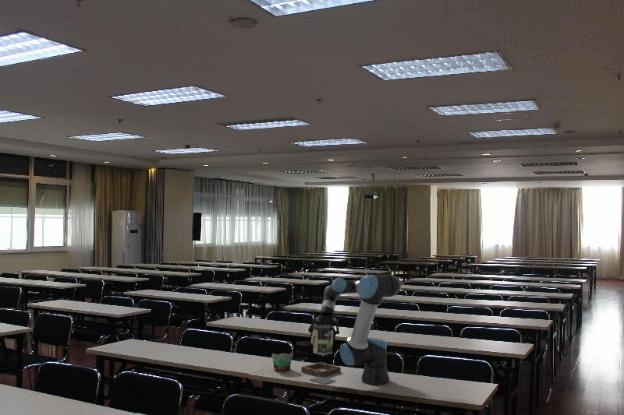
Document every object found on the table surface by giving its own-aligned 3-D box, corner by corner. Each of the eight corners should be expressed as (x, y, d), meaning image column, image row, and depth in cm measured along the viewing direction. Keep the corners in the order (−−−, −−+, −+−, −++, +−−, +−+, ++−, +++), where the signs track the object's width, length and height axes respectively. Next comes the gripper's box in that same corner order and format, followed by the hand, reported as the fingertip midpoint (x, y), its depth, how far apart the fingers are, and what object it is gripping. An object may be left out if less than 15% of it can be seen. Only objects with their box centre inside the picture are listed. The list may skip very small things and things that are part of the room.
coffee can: (335, 352, 324) (335, 326, 325) (324, 355, 316) (324, 329, 316) (320, 349, 331) (320, 324, 331) (309, 352, 322) (309, 326, 323)
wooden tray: (340, 372, 341) (340, 367, 341) (322, 377, 329) (322, 372, 329) (320, 367, 352) (320, 362, 352) (301, 372, 340) (301, 366, 340)
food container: (273, 373, 337) (273, 355, 337) (271, 370, 343) (271, 353, 343) (294, 371, 340) (294, 354, 340) (292, 369, 346) (292, 352, 346)
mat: (335, 381, 322) (335, 380, 322) (324, 384, 316) (324, 383, 316) (320, 377, 329) (320, 376, 329) (309, 380, 323) (309, 379, 323)
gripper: (348, 314, 336) (342, 348, 320) (309, 313, 341) (302, 346, 326) (346, 306, 331) (341, 340, 315) (307, 305, 336) (300, 338, 321)
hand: (321, 343), depth 320 cm, fingers closed on coffee can, 10 cm apart
